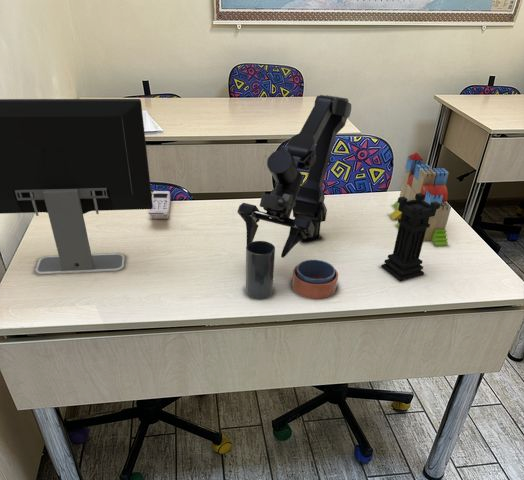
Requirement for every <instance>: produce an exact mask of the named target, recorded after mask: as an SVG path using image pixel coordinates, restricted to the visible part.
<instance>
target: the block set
mask: <svg viewBox="0 0 524 480" xmlns="http://www.w3.org/2000/svg"><path fill="white" fill-rule="evenodd" d="M423 160H424V159H423V158H422V157H421V155H420V154H419V153H418V152H414V153H412V154H410V155H408V156H407V159H406V163H405V170H404V174H403V180H402V184H401V187H400V193H399V197H403V196H404V197H405V198H407V201H409V200H414V199H415V195H416V194H418V193H422V194H424V195H425V197H424V200H423V201H425V202H427V203H429V204H430V205H431V202H438V203H440V208H439V209H437V210H436V213H435V216H432V217H430V218H429V222H428V223H429V224H430V227H429V228H427V229H426V233H425V237H424V240H423V242H424V241H431V242H432V243H433V244H434V245H435V246H436V247H443V246H448V244H449V243H448V238H447V236H448V234H447V229H446V228H447V223H448V220H449V217H450V213H451V209H452V206H451V205H450V203H448V198H449V193H448V187H447V181H448V178H449V173H450V172H449V171H448V170H446V168H444V167H441V168H440V167H438V168H436V167H435V168H432V167H431V166H429V164H423ZM415 200H416V199H415ZM393 207H394V209H395V210H394V211H393V212H391V213H390V214H389V217H390V218H391V219H392V221H398V219H401V216H402V212H400V211H399V210H398V208H399V203H398V200H396V201H395V202H394V203H393ZM399 224H400V223H398V222H397V223H396V226H397V227H398V229H399Z"/></svg>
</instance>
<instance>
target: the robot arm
mask: <svg viewBox="0 0 524 480" xmlns="http://www.w3.org/2000/svg"><path fill="white" fill-rule="evenodd" d="M351 112H352V103H351V102H349V98H346V97H341V96H334V95H328V94H326V95H324V94H320V95H317V96H316V97H315V101H314V105H313V107H312V109H311V110H310V112H309V115H308V116H307V118H306V120H305V122H304V124H303V125H302V128H301V130H300V131H299V133H297V134H295V135H293V136H292V137H290V139H289V140H288V142H287V143H286V145H280V148H279V149H278V150H275V151H273V152H272V153H271V154H270V155H268V158H267V161H266V165H267V168H268V170H269V172H270V173H271V176H272V178H273V180H274V181H275V182H276V184H275V186H274V189H272V190H271V191H270V193H265V192H262V193H261V197H260V203H259V207H260V208H263V210H264V211H261V210H260V209H259V208H258V206H257V205H255V204H251V203H246V202H242V203H241V204H240V205H238V209H237V214H238V215H239V216H240V217H241V218H242V220H243V221H244V222H245V227H246V228H245V229H246V246H247V245H248V244H249V243H251V242H254V239H255V236H256V233H257V231H258V228H259V224H258V223H259V222H260V220H261V221H264V222H268V223H272V224H277V225H281V226H284V227H288V228H289V233H288V237H287V239H286V241H285V243H284V245H283V248H282V251H281V256H280V257H281V258H282V259H284V258H285V257H286V256H287V255H288V254H289V253H290V251H291V250H293V248H294V247H295V246H296V245H298V243H300V242H302V244H303V243H304V244H305V243H310V242H314V241H320V240H322V239H323V236H321V235H320V233H321V232H320V231H321V223H323V222H326V220H327V215H328V208H327V206H326V204H325V198H326V197H325V192H324V190H323V184H324V181H325V177H326V173H327V170H328V166H329V162H330V160H331V155H332V151H333V149H334V145H335V141H336V137H337V134H338V133H339V132H340V131H342V129H343V128H344V127H345V126H346V123H347V121H348V119H349V118H350V116H351ZM299 170H303V171H308V173H307V177H306V181H305V182H304V177H303V175H302V172H301V171H299ZM291 214H292V217H293V218H291Z"/></svg>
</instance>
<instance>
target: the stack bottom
mask: <svg viewBox="0 0 524 480" xmlns="http://www.w3.org/2000/svg"><path fill="white" fill-rule="evenodd" d="M299 264H300V263H298V264H297V265H296V266H294V268H293V270H292V280H291V281H292V282H291V287H292V290H293V291H294V292H295V293H296V294H298V295H300V296H302V297H303V298H308V299H313V300H319V299H326V298H329V297H331V296H332V295H334V294H335V293H336V290H337V287H338V279H339V273H338V271H337V269H336V268H335V267H334V269H335V277H334V280H333V281H331V282H329V283H326V284H310V283H307V282H304V281H302V280H300V279H299V278H298V277H297V276H296V272H297V266H298V265H299ZM307 276H309V275H307ZM314 277H315V276H314ZM316 277H318V278H316ZM316 277H315V278H316V279H319V277H320V279H321V278H322V277H321V276H316ZM309 278H311V277H309ZM315 278H314V279H315ZM312 279H313V277H312ZM322 279H324V278H322Z"/></svg>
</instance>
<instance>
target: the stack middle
mask: <svg viewBox="0 0 524 480" xmlns="http://www.w3.org/2000/svg"><path fill="white" fill-rule="evenodd" d="M298 264H299V265H298ZM298 264H297V265H298V266H297V265H296V266H297V272H296V276H297V277H298V278H299V279H300V280H302V281H304V282H307V283H310V284H326V283H329V282H331V281H333V280H334V277H335V269H336V268H335V267H334V266H333V264H331V263H329V262H327V261H325V260H320V259H307V260H304V261H301V262H300V263H298ZM334 268H335V269H334ZM307 275H309V276H307ZM314 276H315V277H316V276H321V277H322V278H324V279H322V278H321V279H320V277H319V279H316V278H318V277H316V278H315V277H314ZM309 277H311V278H309ZM312 277H313V279H312ZM314 278H315V279H314Z"/></svg>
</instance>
